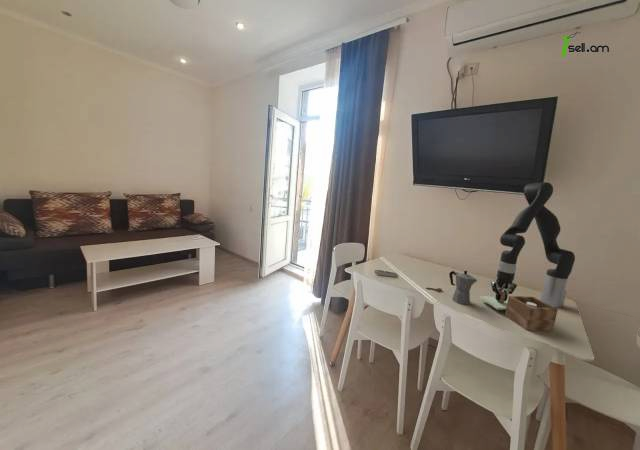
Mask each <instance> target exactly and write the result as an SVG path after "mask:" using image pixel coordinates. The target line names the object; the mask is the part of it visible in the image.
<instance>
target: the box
mask: <svg viewBox="0 0 640 450" xmlns="http://www.w3.org/2000/svg"><path fill="white" fill-rule="evenodd" d="M507 300H508V303H507V308H506V310H505V313H504V317H505V318H507V319H509V320H511V321H512V322H514V323H515V324H517V326H520V327H521V328H522V329H523V330H525V331H532V332H533V331H535V332H542V331H543V332H554V327H555V324H556V319H557V314H558V310H559V308H556V307H552V306H550V305H548V304H546V303H544V302H542V301H541V299H538V298H536V297H535V296H523V295H522V296H519V295H508V297H507ZM527 302H532V303H535V304H536V305H537V307H530V306H528V305H527V304H526V303H527Z"/></svg>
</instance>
